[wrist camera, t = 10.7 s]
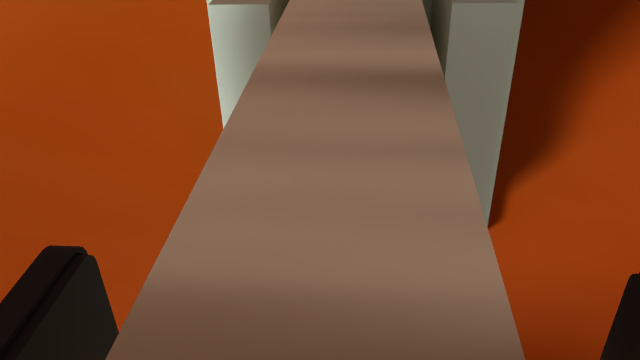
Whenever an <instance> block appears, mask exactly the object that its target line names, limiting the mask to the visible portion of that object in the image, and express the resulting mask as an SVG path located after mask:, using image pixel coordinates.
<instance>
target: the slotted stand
mask: <svg viewBox="0 0 640 360" xmlns="http://www.w3.org/2000/svg"><path fill="white" fill-rule="evenodd" d="M288 2H289V0H207V7H208V15H209V22H210V30H211V37H212V45H213V52H214V60H215V68H216V75H217V83H218V90H219V98H220V105H221V113H222V121H223V128H224V127H225V125H226V123H227V121H228V119H229V117H230V115H231V114H232V112H233V110H234V108H235V106H236V104H237V102H238V100H239V98H240V96H241V94H242V92H243V90H244V88H245V86H246V84H247V82H248V80H249V78H250V76H251V75H252V73H253V71H254V69H255V67H256V65H257V63H258V61H259V59H260V57H261V55H262V53H263V51H264V49H265V47H266V45H267V43H268V41H269V39H270V37H271V35H272V34H273V32H274V30H275V28H276V26H277V24H278V22H279V20H280V18H281V16H282V14H283V12H284V10H285V8H286V6H287V4H288ZM422 2H423V6H424V9H425V13H426V16H427V20H428V23H429V27H430V30H431V34H432V37H433V40H434V44H435V47H436V51H437V54H438V58H439V61H440V65H441V68H442V72H443V75H444V79H445V82H446V86H447V89H448V93H449V96H450V100H451V103H452V106H453V110H454V113H455V117H456V120H457V124H458V127H459V131H460V134H461V138H462V141H463V145H464V148H465V152H466V155H467V159H468V162H469V166H470V169H471V172H472V176H473V179H474V183H475V186H476V190H477V193H478V197H479V200H480V204H481V207H482V211H483V214H484V218H485V221H486V225H487V226H488V220H489V214H490V208H491V202H492V196H493V190H494V184H495V178H496V172H497V166H498V160H499V154H500V148H501V141H502V135H503V129H504V123H505V117H506V111H507V105H508V99H509V93H510V87H511V81H512V75H513V69H514V63H515V57H516V51H517V45H518V39H519V33H520V27H521V21H522V15H523V9H524V3H525V0H422Z"/></svg>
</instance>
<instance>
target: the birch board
mask: <svg viewBox="0 0 640 360" xmlns="http://www.w3.org/2000/svg"><path fill="white" fill-rule="evenodd" d="M105 360H525V357H524V353H523V350H522V346H521V343H520V339H519V336H518V332H517V329H516V325H515V322H514V318H513V315H512V311H511V308H510V304H509V301H508V297H507V294H506V291H505V287H504V284H503V280H502V277H501V273H500V270H499V266H498V263H497V259H496V256H495V252H494V249H493V245H492V242H491V238H490V235H489V231H488V228H487V225H486V221H485V218H484V214H483V211H482V207H481V204H480V200H479V197H478V193H477V190H476V186H475V183H474V179H473V176H472V172H471V169H470V166H469V162H468V159H467V155H466V152H465V148H464V145H463V141H462V138H461V134H460V131H459V127H458V124H457V120H456V117H455V113H454V110H453V106H452V103H451V100H450V96H449V93H448V89H447V86H446V82H445V79H444V75H443V72H442V68H441V65H440V61H439V58H438V54H437V51H436V47H435V44H434V40H433V37H432V34H431V30H430V27H429V23H428V20H427V16H426V13H425V9H424V6H423V2H422V0H289V2H288V4H287V6H286V8H285V10H284V12H283V14H282V16H281V18H280V20H279V22H278V24H277V26H276V28H275V30H274V32H273V34H272V35H271V37H270V39H269V41H268V43H267V45H266V47H265V49H264V51H263V53H262V55H261V57H260V59H259V61H258V63H257V65H256V67H255V69H254V71H253V73H252V75H251V76H250V78H249V80H248V82H247V84H246V86H245V88H244V90H243V92H242V94H241V96H240V98H239V100H238V102H237V104H236V106H235V108H234V110H233V112H232V114H231V115H230V117H229V119H228V121H227V123H226V125H225V127H224V129H223V131H222V133H221V135H220V137H219V139H218V141H217V143H216V145H215V147H214V149H213V151H212V153H211V154H210V156H209V158H208V160H207V162H206V164H205V166H204V168H203V170H202V172H201V174H200V176H199V178H198V180H197V182H196V184H195V186H194V188H193V190H192V192H191V193H190V195H189V197H188V199H187V201H186V203H185V205H184V207H183V209H182V211H181V213H180V215H179V217H178V219H177V221H176V223H175V225H174V227H173V229H172V231H171V232H170V234H169V236H168V238H167V240H166V242H165V244H164V246H163V248H162V250H161V252H160V254H159V256H158V258H157V260H156V262H155V264H154V266H153V268H152V270H151V272H150V273H149V275H148V277H147V279H146V281H145V283H144V285H143V287H142V289H141V291H140V293H139V295H138V297H137V299H136V301H135V303H134V305H133V307H132V309H131V311H130V312H129V314H128V316H127V318H126V320H125V322H124V324H123V326H122V328H121V330H120V332H119V334H118V336H117V338H116V340H115V342H114V344H113V346H112V348H111V350H110V351H109V353H108V355H107V357H106V359H105Z"/></svg>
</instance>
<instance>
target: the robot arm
mask: <svg viewBox="0 0 640 360" xmlns="http://www.w3.org/2000/svg"><path fill="white" fill-rule="evenodd" d="M118 334H119V332H118V329H117V325H116V322H115V319H114V316H113V313H112V309H111V306H110V303H109V300H108V297H107V293H106V290H105V287H104V284H103V281H102V277H101V274H100V271H99V268H98V264H97V261H96V259H95V257H94V256H92V255H88V254H87V252H86V250H85V249H84V248H83V247H79V246H48V247H46V248H45V249H44V250H42V252H41V253H40V254H39V255H38V257H37V258H36V259H35V260H34V262H33V263H32V264H31V265H30V267H29V268H28V269H27V270H26V272H25V273H24V274H23V275H22V277H21V278H20V279H19V280H18V282H17V283H16V284H15V285H14V287H13V288H12V289H11V290H10V292H9V293H8V294H7V295H6V297H5V298H4V299H3V300H2V302H1V303H0V360H105V359H106V357H107V355H108V353H109V351H110V350H111V348H112V346H113V344H114V342H115V340H116V338H117V336H118ZM600 360H640V272H639V274H632V275H631V276H630V278H629V279H628V282H627V285H626V288H625V290H624V293H623V296H622V299H621V302H620V305H619V307H618V310H617V313H616V316H615V319H614V321H613V324H612V327H611V330H610V333H609V335H608V338H607V341H606V344H605V347H604V350H603V352H602V355H601V358H600Z"/></svg>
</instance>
